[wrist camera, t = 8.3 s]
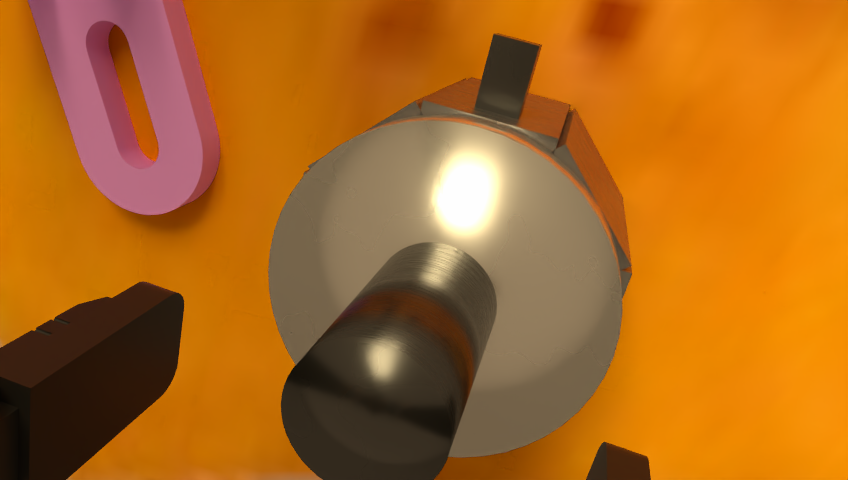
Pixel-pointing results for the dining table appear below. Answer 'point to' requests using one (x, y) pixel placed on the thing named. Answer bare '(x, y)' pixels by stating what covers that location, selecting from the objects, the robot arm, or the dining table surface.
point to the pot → (531, 125)
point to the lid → (438, 298)
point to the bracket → (106, 108)
